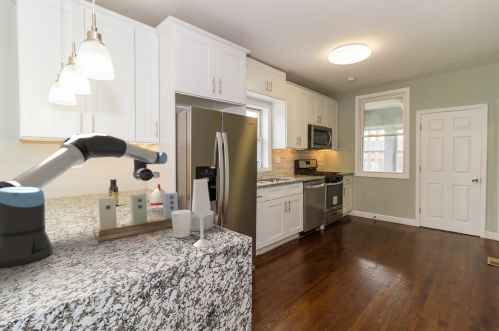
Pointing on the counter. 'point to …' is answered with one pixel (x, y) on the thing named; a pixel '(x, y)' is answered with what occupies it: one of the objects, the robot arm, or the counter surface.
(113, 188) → the sauce bottle
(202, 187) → the champagne flute
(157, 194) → the kitchen timer
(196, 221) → the ramekin
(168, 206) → the tile
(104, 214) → the tile
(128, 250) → the counter surface
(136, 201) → the tile
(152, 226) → the oak board
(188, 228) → the white cup
